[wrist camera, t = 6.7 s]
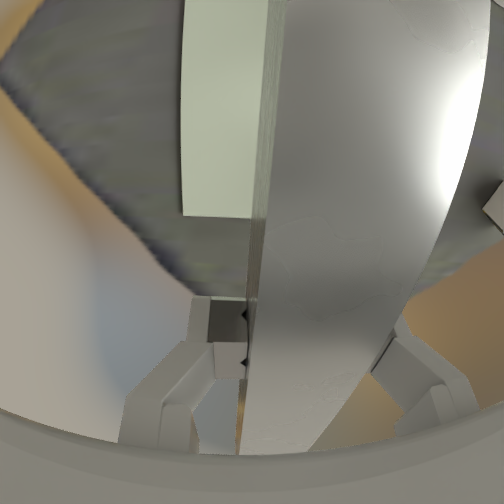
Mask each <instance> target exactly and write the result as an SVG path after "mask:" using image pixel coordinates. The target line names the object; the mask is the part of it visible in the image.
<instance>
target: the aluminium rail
mask: <svg viewBox="0 0 504 504" xmlns="http://www.w3.org/2000/svg"><path fill="white" fill-rule="evenodd" d="M489 26H490V0H268V11H267V23H266V35H265V48H264V60H263V73H262V85H261V98H260V111H259V124H258V137H257V149H256V162H255V175H254V189H253V202H252V215H251V228H250V242H249V255H248V268H247V282H246V296H245V298H246V300H247V314H246V321H247V329H248V346H247V358H246V369H245V377H244V379H239V393H238V407H237V421H236V436H235V455H264V454H285V453H299V452H307V451H308V449H309V448H310V447H311V446H312V445H313V443H314V442H315V441H316V440H317V439H318V437H319V436H320V435H321V434H322V432H323V431H324V430H325V429H326V427H327V426H328V425H329V423H330V422H331V420H332V419H333V418H334V417H335V416H336V414H337V413H338V411H339V410H340V409H341V407H342V406H343V405H344V403H345V402H346V401H347V399H348V398H349V396H350V395H351V393H352V392H353V391H354V389H355V388H356V386H357V385H358V383H359V382H360V380H361V379H362V377H363V376H364V374H365V373H366V371H367V370H368V368H369V367H370V365H371V364H372V362H373V360H374V359H375V357H376V356H377V354H378V352H379V351H380V349H381V347H382V346H383V344H384V342H385V341H386V339H387V337H388V336H389V334H390V332H391V330H392V329H393V327H394V325H395V323H396V322H397V320H398V318H399V316H400V314H401V313H402V311H403V309H404V307H405V305H406V303H407V301H408V299H409V297H410V295H411V293H412V292H413V290H414V288H415V286H416V283H417V281H418V279H419V277H420V275H421V273H422V271H423V269H424V267H425V265H426V262H427V260H428V258H429V256H430V254H431V251H432V249H433V247H434V244H435V242H436V240H437V237H438V235H439V232H440V230H441V227H442V225H443V222H444V220H445V217H446V215H447V212H448V209H449V207H450V204H451V201H452V198H453V196H454V193H455V190H456V187H457V184H458V181H459V178H460V175H461V171H462V168H463V165H464V162H465V158H466V155H467V151H468V148H469V144H470V140H471V136H472V132H473V128H474V124H475V120H476V116H477V111H478V106H479V101H480V96H481V91H482V85H483V79H484V73H485V66H486V58H487V49H488V39H489Z"/></svg>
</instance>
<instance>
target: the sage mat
mask: <svg viewBox="0 0 504 504" xmlns="http://www.w3.org/2000/svg"><path fill="white" fill-rule="evenodd" d="M267 11H268V0H185V11H184V26H183V45H182V72H181V170H182V198H183V216H209V217H233V218H251V215H252V202H253V189H254V175H255V162H256V149H257V137H258V124H259V111H260V98H261V85H262V73H263V60H264V48H265V35H266V23H267Z"/></svg>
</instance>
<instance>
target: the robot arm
mask: <svg viewBox="0 0 504 504" xmlns="http://www.w3.org/2000/svg"><path fill="white" fill-rule="evenodd" d="M494 1H495V2H496V3H497V4H499V5H500V6H502V7H503V8H504V0H494ZM246 314H247V300H246V298H234V297H216V296H212V297H210V296H195V295H194V296H193V298H192V302H191V309H190V316H189V323H188V331H187V338H186V341H181V342H180V343H179V344H178V345H177V346H176V347H175V348H174V349H173V350H172V351H171V352H170V353H169V354H168V355H167V356H166V357H165V358H164V359H163V360H162V361H161V362H160V363H159V364H158V365H157V366H156V367H155V368H154V369H153V370H152V371H151V372H150V373H149V374H148V375H147V376H146V377H145V378H144V379H143V380H142V381H141V382H140V383H139V384H138V385H137V386H136V387H135V388H134V389H133V390H132V391H131V392H130V393H129V394H128V395H127V396H126V401H125V406H124V411H123V416H122V421H121V427H120V432H119V438H118V443H114V442H108V441H104V440H99V439H95V438H91V437H87V436H82V435H79V434H75V433H71V432H67V431H64V430H60V429H57V428H54V427H50V426H47V425H44V424H41V423H38V422H35V421H32V420H29V419H27V418H24V417H21V416H19V415H16V414H13V413H11V412H8V411H6V410H3V409H1V408H0V504H504V401H502V402H500V403H497V404H495V405H492V406H490V407H488V408H485V409H483V410H480V408H479V406H478V403H477V401H476V398H475V396H474V393H473V391H472V388H471V386H470V384H469V381H468V379H467V377H466V376H465V375H464V374H463V373H461V372H460V371H459V370H458V369H457V368H455V367H454V366H453V365H452V364H451V363H449V362H448V361H447V360H446V359H444V358H443V357H442V356H441V355H440V354H438V353H437V352H436V351H435V350H433V349H432V348H431V347H430V346H428V345H427V344H426V343H425V342H423V341H422V340H421V339H420V338H418V337H417V336H412V334H411V332H410V330H409V327H408V325H407V323H406V321H405V319H404V316H403V314H402V313H401V314H400V316H399V318H398V320H397V322H396V323H395V325H394V327H393V329H392V330H391V332H390V334H389V336H388V337H387V339H386V341H385V342H384V344H383V346H382V347H381V349H380V351H379V352H378V354H377V356H376V357H375V359H374V360H373V362H372V364H371V365H370V367H369V368H368V370H367V371H366V373H371V375H372V376H373V377H374V378H375V380H376V381H377V382H378V383H379V384H380V385H381V386H382V387H383V389H384V390H385V391H386V392H387V393H388V394H389V395H390V396H391V397H392V399H393V400H394V401H395V402H396V403H397V404H398V405H399V407H400V408H401V409H402V410H403V411H404V412H405V414H404V415H403V416H402V417H401V418H400V419H398V420H397V422H396V423H395V424H394V429H395V433H396V437H394V438H390V439H386V440H381V441H376V442H372V443H366V444H360V445H354V446H348V447H342V448H335V449H328V450H320V451H310V452H299V453H285V454H264V455H219V454H199V437H198V433H197V429H196V426H195V422H194V418H193V414H192V412H193V411H194V409H195V408H196V407H197V405H198V404H199V402H200V401H201V400H202V399H203V397H204V396H205V394H206V393H207V392H208V390H209V389H210V387H211V386H212V384H213V383H214V382H215V379H244V377H245V369H246V358H247V346H248V329H247V321H246Z"/></svg>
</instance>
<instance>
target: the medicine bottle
mask: <svg viewBox="0 0 504 504" xmlns="http://www.w3.org/2000/svg"><path fill="white" fill-rule="evenodd" d="M482 210H483V212H484V213H485V214H486V215H487V217H488V218H489V219H490V220H491V221H492V223H493V224H494V225H495V226H496V227H497V229H498V230H499V231H500V232H501V233H502V234H503V235H504V181H503V182H502V183H501V184H500V186H499V187H498V189H497V190H496V191H495V193H494V194H493V195H492V197H491V198H490V199H489V201H488V202H487V203H486V205H485V206H484V207H483V208H482Z"/></svg>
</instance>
